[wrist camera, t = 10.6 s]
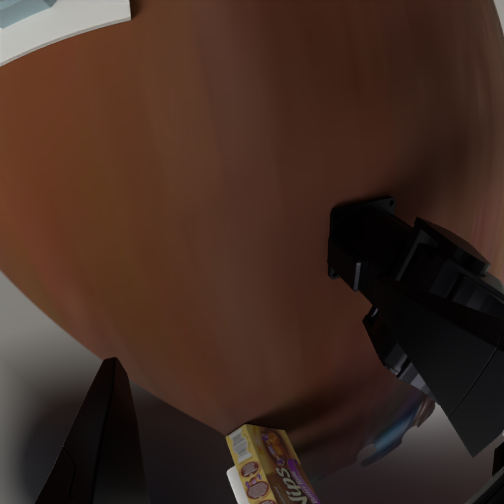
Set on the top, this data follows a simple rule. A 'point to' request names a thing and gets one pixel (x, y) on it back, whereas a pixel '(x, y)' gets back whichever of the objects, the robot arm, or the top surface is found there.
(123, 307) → the top surface
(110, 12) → the cup bracket
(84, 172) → the top surface
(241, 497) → the cylindrical container
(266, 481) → the candy box
